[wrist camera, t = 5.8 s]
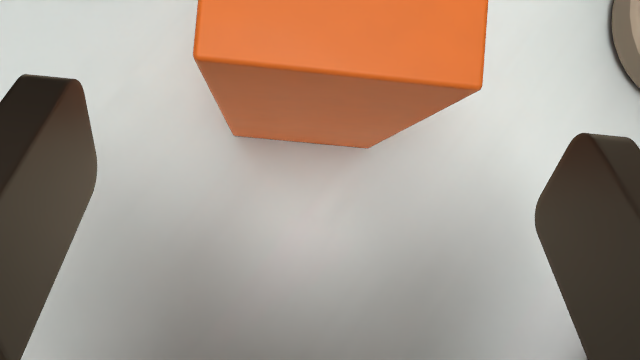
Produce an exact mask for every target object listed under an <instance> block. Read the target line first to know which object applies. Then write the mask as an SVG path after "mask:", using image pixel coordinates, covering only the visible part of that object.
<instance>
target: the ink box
mask: <svg viewBox="0 0 640 360" xmlns="http://www.w3.org/2000/svg"><path fill="white" fill-rule="evenodd" d="M487 10H488V0H198V8H197V18H196V29H195V39H194V50H193V56H194V59H195V61H196V63H197V65H198V67H199V69H200V71H201V73H202V75H203V77H204V79H205V81H206V83H207V85H208V87H209V89H210V91H211V93H212V94H213V96H214V98H215V100H216V102H217V104H218V106H219V108H220V110H221V112H222V114H223V116H224V118H225V120H226V122H227V124H228V126H229V128H230V130H231V131H232V133H233V135H235V136H243V137H253V138H264V139H275V140H285V141H296V142H306V143H317V144H328V145H338V146H349V147H359V148H370V147H371V146H373V145H375V144H377V143H379V142H381V141H383V140H385V139H387V138H389V137H391V136H393V135H394V134H396V133H398V132H400V131H402V130H404V129H406V128H408V127H410V126H412V125H414V124H416V123H417V122H419V121H421V120H423V119H425V118H427V117H429V116H431V115H433V114H435V113H437V112H439V111H440V110H442V109H444V108H446V107H448V106H450V105H452V104H454V103H456V102H458V101H460V100H462V99H463V98H465V97H467V96H469V95H471V94H473V93H475V92H477V91H479V90H480V89H481V87H482V81H483V67H484V53H485V38H486V24H487Z"/></svg>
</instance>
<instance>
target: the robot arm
mask: <svg viewBox="0 0 640 360" xmlns="http://www.w3.org/2000/svg"><path fill="white" fill-rule="evenodd" d="M96 176H97V157H96V151H95V146H94V141H93V136H92V131H91V125H90V120H89V115H88V110H87V105H86V100H85V95H84V91H83V88H82V85H81V83H80V82H79V81H78V80H76V79H68V78H58V77H48V76H39V75H29V74H24V75H22V76H20V77H19V78H18V79H17V81H16V82H15V83H14V85H13V86H12V87H11V89H10V90H9V91H8V93H7V94H6V95H5V97H4V98H3V99H2V101H1V102H0V360H21V357H22V355H23V353H24V350H25V348H26V346H27V343H28V341H29V339H30V337H31V334H32V332H33V330H34V327H35V325H36V323H37V320H38V318H39V316H40V313H41V311H42V309H43V307H44V304H45V302H46V300H47V297H48V295H49V293H50V290H51V288H52V286H53V284H54V281H55V279H56V277H57V274H58V272H59V270H60V267H61V265H62V263H63V261H64V258H65V256H66V254H67V251H68V249H69V247H70V244H71V242H72V240H73V237H74V235H75V233H76V231H77V228H78V226H79V224H80V221H81V219H82V217H83V214H84V212H85V210H86V208H87V205H88V203H89V201H90V198H91V196H92V193H93V191H94V187H95V183H96ZM535 227H536V231H537V234H538V237H539V239H540V242H541V244H542V247H543V249H544V252H545V254H546V257H547V259H548V262H549V264H550V267H551V269H552V271H553V274H554V276H555V279H556V281H557V284H558V286H559V289H560V291H561V294H562V296H563V299H564V301H565V304H566V306H567V309H568V311H569V314H570V316H571V319H572V321H573V324H574V326H575V329H576V331H577V334H578V336H579V339H580V341H581V343H582V346H583V348H584V351H585V353H586V356H587V358H588V360H640V149H639V148H638V146H637V145H636V144H635V142H634V141H633V140H631V139H630V138H627V137H618V136H608V135H598V134H589V133H581V134H579V135H577V136H576V137H574V138H573V140H572V141H571V142H570V144H569V146H568V147H567V149H566V151H565V153H564V154H563V156H562V158H561V160H560V162H559V163H558V165H557V167H556V169H555V170H554V172H553V174H552V176H551V177H550V179H549V181H548V183H547V185H546V186H545V188H544V190H543V192H542V193H541V195H540V197H539V199H538V202H537V205H536V211H535Z"/></svg>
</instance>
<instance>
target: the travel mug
mask: <svg viewBox="0 0 640 360" xmlns="http://www.w3.org/2000/svg"><path fill="white" fill-rule="evenodd" d="M612 33H613V40H614V45H615V48H616V51H617V54H618V57H619V60H620V61H621V63H622V65H623V67H624V69H625V70H626V72H627V74H628V75H629V77H630V78H631V79H632V80H633V82H634V83H635V84H636V85H637V86H638V88H640V0H614V4H613V8H612Z"/></svg>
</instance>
